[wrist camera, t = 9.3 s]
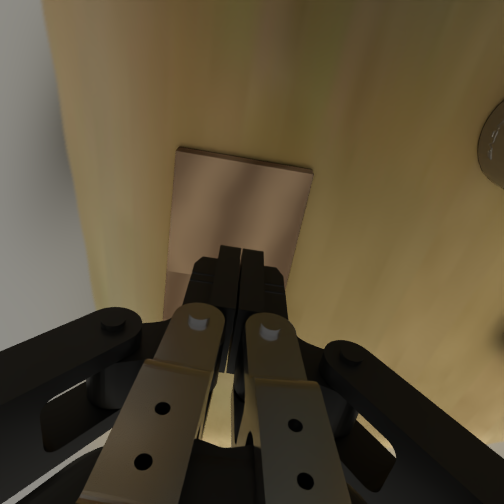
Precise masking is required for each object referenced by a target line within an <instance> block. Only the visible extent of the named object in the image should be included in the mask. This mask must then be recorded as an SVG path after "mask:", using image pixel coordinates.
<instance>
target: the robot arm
mask: <svg viewBox="0 0 504 504" xmlns="http://www.w3.org/2000/svg"><path fill="white" fill-rule="evenodd" d="M478 158H479V163H480V166H481V169H482V171H483V172H484V174H485V175H486V176H487V178H488V179H489V180H491V181H492V182H493V183H495V184H496V185H498V186H500V187H501V188H503V189H504V101H503V102H502V103H501V104H500V105H498V106H497V108H496V109H495V110H494V112H493V113H492V114H491V115H490V117H489V118H488V120H487V122H486V124H485V126H484V128H483V130H482V133H481V136H480V139H479V146H478ZM240 257H241V260H240ZM228 350H229V352H228ZM227 355H228V363H227V373H230V374H234V383H233V388H232V393H231V448H222V447H218V446H216V445H213V444H210V443H208V442H205V441H203V440H202V438H203V434H204V429H205V425H206V421H207V416H208V412H209V408H210V403H211V399H212V394H213V389H214V387H215V386H216V384H217V379H218V373H219V372H222V373H224V371H225V366H226V360H227ZM85 379H86V382H84V383H82V384H80V385H79V386H77V387H75V388H73V389H71V390H70V391H68V392H66V393H64V394H62V395H60V396H59V397H57V398H55V399H53V400H51V401H50V402H48V401H49V400H50V399H52V398H53V397H55V396H56V395H58V394H60V393H62V392H64V391H65V390H67V389H69V388H71V387H73V386H74V385H76V384H78V383H80V382H82V381H84V380H85ZM47 402H48V403H47ZM359 413H360V414H361V415H362V416H363V417H364V418H365V419H366V420H367V421H368V422H369V423H370V424H371V425H372V426H373V427H374V428H375V429H376V430H378V431H379V432H380V433H381V434H382V435H383V436H384V437H385V438H386V439H387V440H388V441H389V442H390V443H391V445H392V446H393V448H394V450H395V453H396V458H395V457H394V456H393V455H392V454H391V453H390V452H389V451H388V450H387V449H386V448H385V447H384V446H383V445H382V444H381V443H380V442H379V441H378V440H377V439H376V438H375V437H374V436H372V435H371V434H370V433H369V432H368V431H367V430H366V429H365V428H364V427H363V426H362V425H361V424H360V423H359V422H358V421H357V420H356V418H357V416H358V414H359ZM111 428H112V430H111V432H110V434H109V436H108V439H107V441H106V443H105V445H104V446H103V447H100V448H97V449H95V450H93V451H91V452H88V453H86V454H84V455H83V456H81V457H79V458H78V459H76V460H75V461H73V462H72V463H70V464H68V465H67V466H66V467H64V468H63V469H62V470H60V471H59V472H58V473H56V474H55V475H54V476H52V477H51V478H49V479H48V480H47V481H46V482H44V483H43V484H41V485H40V486H39V487H37V488H36V489H35V490H33V491H32V492H31V493H29V494H28V495H26V496H25V497H24V498H23V499H21V500H20V501H18V502H17V503H16V504H504V459H503V458H502V457H501V456H499V455H498V454H497V453H496V452H494V451H493V450H492V449H490V448H489V447H488V446H487V445H486V444H484V443H483V442H482V441H481V440H479V439H478V438H477V437H476V436H474V435H473V434H472V433H471V432H469V431H468V430H467V429H466V428H464V427H463V426H462V425H460V424H459V423H458V422H457V421H455V420H454V419H453V418H452V417H450V416H449V415H448V414H447V413H445V412H444V411H443V410H442V409H440V408H439V407H438V406H437V405H435V404H434V403H433V402H432V401H430V400H429V399H428V398H427V397H425V396H424V395H423V394H422V393H420V392H419V391H418V390H417V389H415V388H414V387H413V386H412V385H410V384H409V383H408V382H406V381H405V380H404V379H403V378H401V377H400V376H399V375H398V374H396V373H395V372H394V371H393V370H391V369H390V368H389V367H388V366H386V365H385V364H384V363H383V362H381V361H380V360H379V359H378V358H376V357H375V356H374V355H373V354H371V353H370V352H369V351H368V350H366V349H365V348H363V347H362V346H360V345H358V344H356V343H353V342H350V341H345V340H336V341H332V342H330V343H328V344H327V345H326V347H325V349H321V348H319V347H316V346H314V345H311V344H309V343H306V342H305V341H303V340H301V339H300V338H298V337H297V335H296V331H295V328H294V326H293V325H292V324H291V323H290V322H289V321H288V314H287V304H286V295H285V287H284V277H283V275H282V274H281V273H280V271H279V270H278V269H277V268H276V267H270V266H264V251H258V250H252V249H245V248H243V250H242V255H241V248H238V247H232V246H226V245H220V250H219V255H218V258H211V257H205V256H203V257H201V258H200V259H199V260H198V261H196V262H195V263H194V267H193V270H192V273H191V277H190V281H189V283H188V287H187V290H186V294H185V297H184V300H183V304H182V306H180V307H179V308H177V309H176V310H175V312H174V314H173V316H172V318H170V319H167V320H165V321H160V322H153V323H142V320H141V318H140V316H139V315H138V314H137V313H135V312H134V311H132V310H130V309H126V308H121V307H110V308H104V309H100V310H98V311H95V312H93V313H90V314H88V315H86V316H83V317H81V318H79V319H76V320H74V321H71V322H69V323H67V324H65V325H62V326H60V327H57V328H55V329H52V330H50V331H48V332H45V333H43V334H41V335H38V336H36V337H34V338H31V339H29V340H27V341H24V342H22V343H19V344H17V345H15V346H12V347H10V348H7V349H5V350H3V351H0V504H2V503H3V502H5V501H6V500H8V499H9V498H11V497H12V496H14V495H15V494H16V493H18V492H19V491H21V490H22V489H24V488H25V487H27V486H28V485H30V484H31V483H32V482H34V481H35V480H37V479H38V478H40V477H41V476H43V475H44V474H46V473H47V472H48V471H50V470H51V469H53V468H54V467H56V466H57V465H59V464H60V463H62V462H63V461H65V460H66V459H67V458H69V457H70V456H72V455H73V454H75V453H76V452H78V451H79V450H81V449H82V448H83V447H85V446H86V445H88V444H89V443H91V442H92V441H94V440H95V439H97V438H98V437H99V436H101V435H103V434H104V433H105V432H107V431H108V430H110V429H111Z"/></svg>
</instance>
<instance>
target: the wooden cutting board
mask: <svg viewBox="0 0 504 504" xmlns="http://www.w3.org/2000/svg"><path fill="white" fill-rule="evenodd" d="M313 176H314V174H313V171H312V170H311V169H305V168H299V167H293V166H287V165H282V164H276V163H270V162H264V161H258V160H253V159H247V158H241V157H235V156H229V155H224V154H218V153H212V152H206V151H200V150H195V149H189V148H183V147H179V148H178V149H177V150H176V156H175V169H174V182H173V195H172V208H171V221H170V234H169V247H168V260H167V273H166V286H165V299H164V311H163V321H165V320H167V319H170V318H172V316H173V314H174V312H175V310H176V309H177V308H179V307H180V306H182V304H183V300H184V297H185V294H186V290H187V287H188V283H189V281H190V277H191V273H192V270H193V267H194V263H195V262H196V261H198V260H199V259H200V258H201V257H203V256H205V257H211V258H218V255H219V250H220V245H226V246H232V247H238V248H241V255H242V250H243V248H245V249H252V250H258V251H264V266H270V267H276V268H277V269H278V270H279V271H280V273H281V274H282V275H283V277H284V287H285V288H286V284H287V280H288V276H289V272H290V268H291V264H292V260H293V256H294V252H295V248H296V244H297V240H298V236H299V232H300V228H301V224H302V220H303V216H304V212H305V208H306V204H307V200H308V196H309V192H310V188H311V184H312V180H313ZM240 260H241V257H240Z"/></svg>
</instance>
